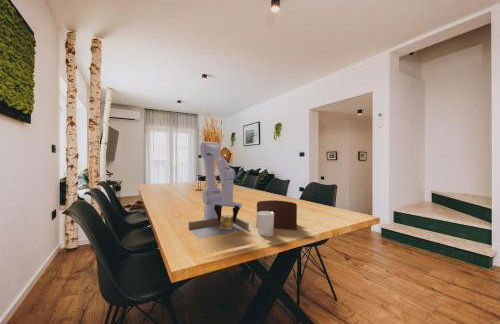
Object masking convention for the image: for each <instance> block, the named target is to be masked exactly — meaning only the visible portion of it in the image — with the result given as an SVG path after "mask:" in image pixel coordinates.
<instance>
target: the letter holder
mask: <svg viewBox="0 0 500 324" xmlns="http://www.w3.org/2000/svg"><path fill="white" fill-rule="evenodd" d="M260 211H270V212H273V213H274V226H273V230H289V231H297V229H298V227H297V226H298V221H297V220H298V213H297V212H298V205H297V203H296V202H291V201H288V200H287V201H285V200H278V199H277V200H271V199H270V200H259V201H257V202H256V213H257V212H260Z"/></svg>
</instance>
